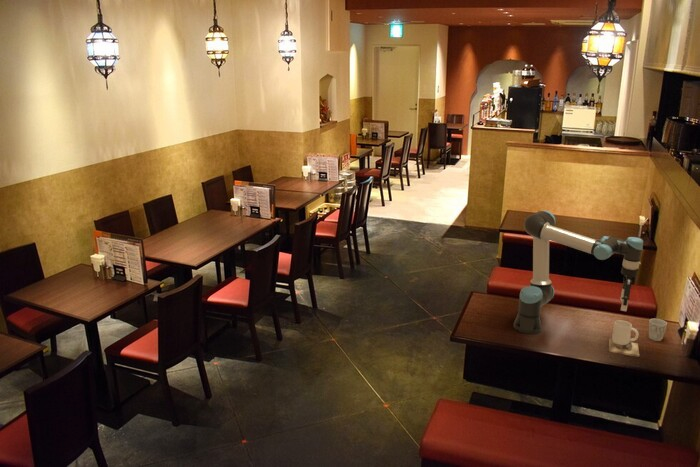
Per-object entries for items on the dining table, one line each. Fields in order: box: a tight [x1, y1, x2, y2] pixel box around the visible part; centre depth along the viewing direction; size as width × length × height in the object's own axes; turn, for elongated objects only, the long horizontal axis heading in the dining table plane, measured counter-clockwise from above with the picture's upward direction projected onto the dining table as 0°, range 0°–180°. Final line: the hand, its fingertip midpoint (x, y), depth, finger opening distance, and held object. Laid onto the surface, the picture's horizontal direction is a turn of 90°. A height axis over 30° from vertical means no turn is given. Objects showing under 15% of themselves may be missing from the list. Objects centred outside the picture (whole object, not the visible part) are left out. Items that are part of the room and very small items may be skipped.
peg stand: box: [608, 338, 640, 358], centre depth 293 cm, size 14×14×4 cm
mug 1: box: [611, 319, 640, 345], centre depth 291 cm, size 12×8×10 cm
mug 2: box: [648, 318, 668, 342], centre depth 304 cm, size 11×8×10 cm
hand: (623, 305), depth 291 cm, fingers open, 13 cm apart
